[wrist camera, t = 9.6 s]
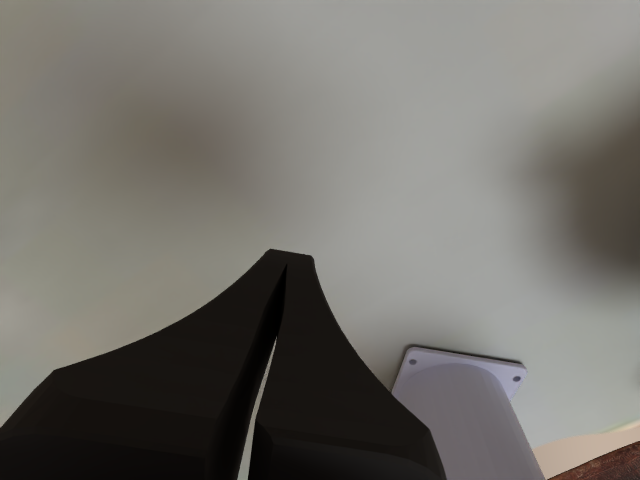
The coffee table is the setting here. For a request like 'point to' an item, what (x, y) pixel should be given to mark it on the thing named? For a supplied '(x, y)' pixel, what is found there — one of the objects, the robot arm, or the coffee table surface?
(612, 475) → the wooden tablet
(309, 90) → the coffee table surface
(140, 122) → the coffee table surface
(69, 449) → the robot arm
